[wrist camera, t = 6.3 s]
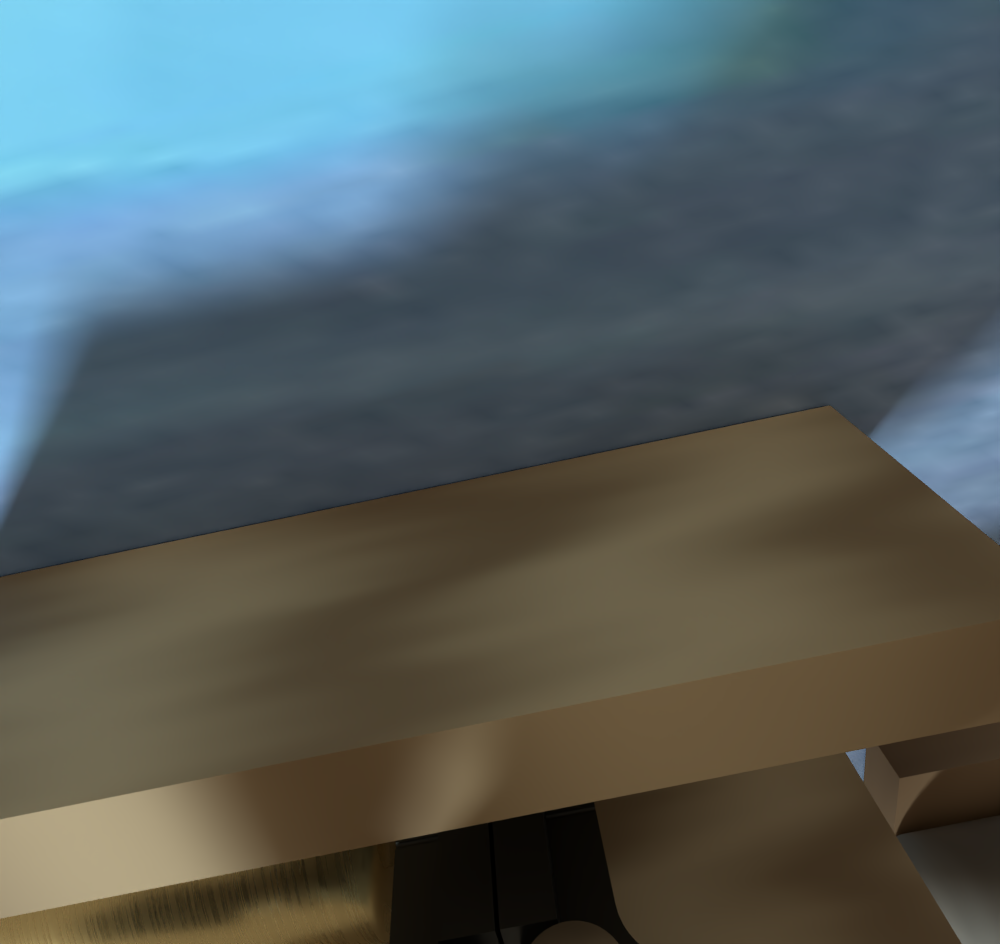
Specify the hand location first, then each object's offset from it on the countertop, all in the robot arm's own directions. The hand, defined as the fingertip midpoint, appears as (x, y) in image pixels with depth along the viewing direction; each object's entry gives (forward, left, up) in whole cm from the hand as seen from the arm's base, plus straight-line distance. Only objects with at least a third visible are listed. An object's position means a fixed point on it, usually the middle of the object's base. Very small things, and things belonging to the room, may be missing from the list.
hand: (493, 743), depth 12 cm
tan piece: (+1, 0, -2) cm, 2 cm away
